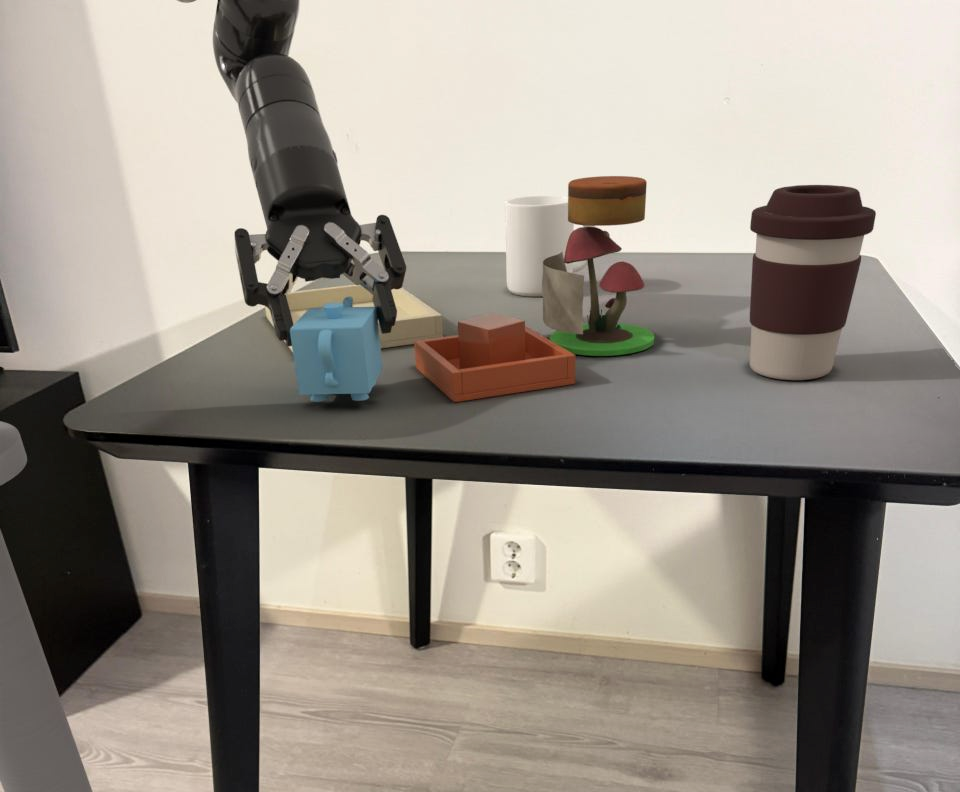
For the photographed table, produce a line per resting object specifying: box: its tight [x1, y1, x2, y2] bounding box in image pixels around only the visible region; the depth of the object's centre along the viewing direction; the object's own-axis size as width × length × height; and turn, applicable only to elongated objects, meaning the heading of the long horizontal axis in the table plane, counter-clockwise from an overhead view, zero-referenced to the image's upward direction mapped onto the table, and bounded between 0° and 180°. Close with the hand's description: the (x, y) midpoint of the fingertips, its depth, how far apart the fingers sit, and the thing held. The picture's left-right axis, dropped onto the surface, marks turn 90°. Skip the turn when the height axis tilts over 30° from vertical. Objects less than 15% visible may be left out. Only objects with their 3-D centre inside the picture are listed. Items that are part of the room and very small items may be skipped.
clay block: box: [457, 312, 526, 369], centre depth 85 cm, size 4×4×4 cm
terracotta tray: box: [413, 325, 577, 403], centre depth 86 cm, size 12×12×3 cm
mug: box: [504, 195, 596, 298], centre depth 114 cm, size 12×8×10 cm
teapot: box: [290, 297, 384, 402], centre depth 81 cm, size 12×6×8 cm, turn 176°
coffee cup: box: [749, 184, 877, 381], centre depth 80 cm, size 10×10×15 cm
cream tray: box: [264, 284, 444, 353], centre depth 103 cm, size 16×20×3 cm
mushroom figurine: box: [542, 175, 655, 357], centre depth 91 cm, size 12×13×15 cm
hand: (340, 334), depth 79 cm, fingers closed on teapot, 8 cm apart
